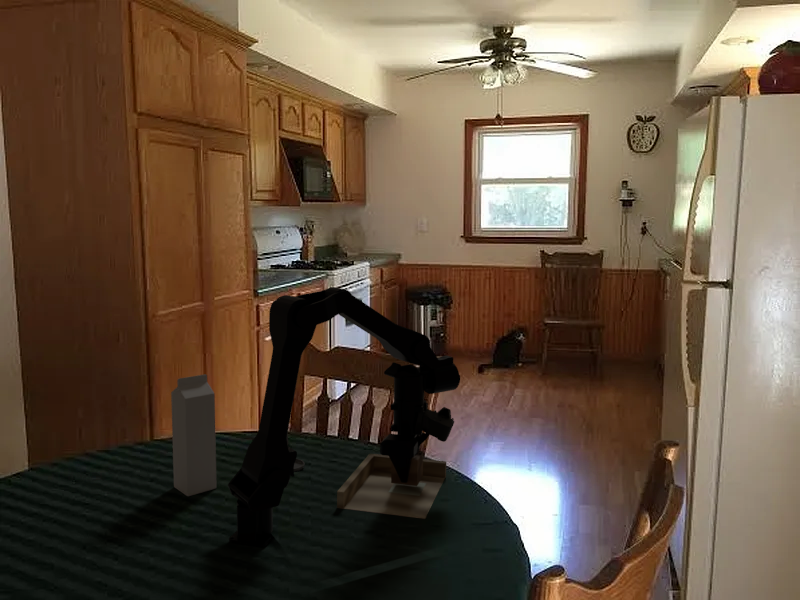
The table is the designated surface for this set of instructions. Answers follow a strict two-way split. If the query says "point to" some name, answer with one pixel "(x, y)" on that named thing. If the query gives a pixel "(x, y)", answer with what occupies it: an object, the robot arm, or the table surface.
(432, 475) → the board
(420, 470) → the walnut block
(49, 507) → the table surface
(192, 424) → the milk
